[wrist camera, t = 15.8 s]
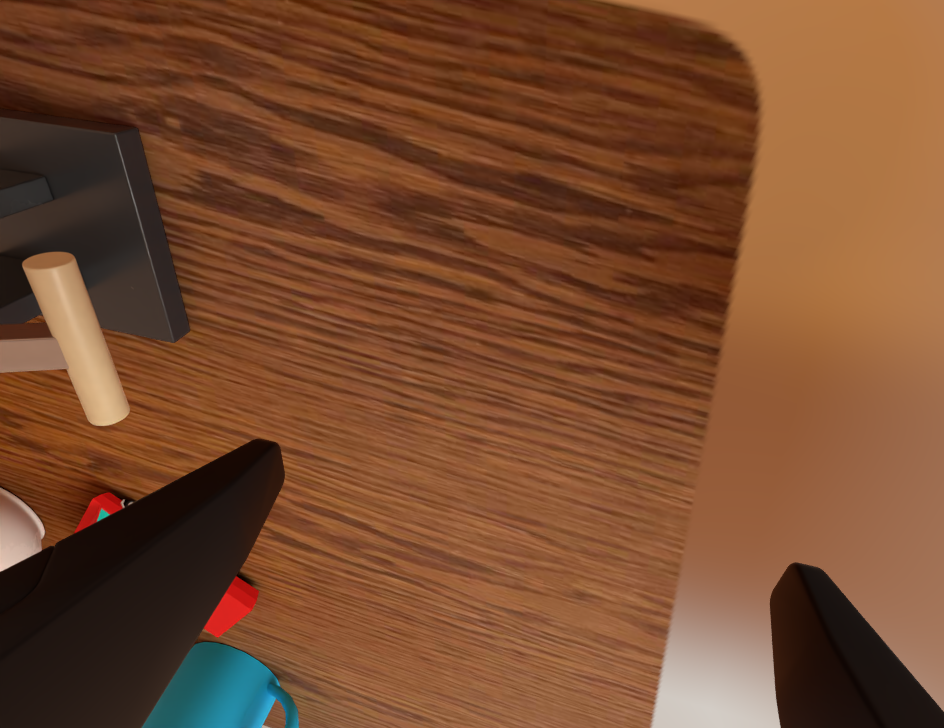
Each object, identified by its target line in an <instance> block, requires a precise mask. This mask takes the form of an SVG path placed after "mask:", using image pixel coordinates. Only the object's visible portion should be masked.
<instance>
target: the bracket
mask: <svg viewBox="0 0 944 728" xmlns="http://www.w3.org/2000/svg"><path fill="white" fill-rule="evenodd" d="M47 252H67V253H70V254H72V255H73V256H74V257H75V259H76V262H77V264H78V267H79V270H80V273H81V275H82V278H83V281H84V284H85V286H86V289H87V292H88V295H89V297H90V300H91V303H92V305H93V308H94V311H95V314H96V316H97V319H98V322H99V325H100V327H101V328H103V329H108V330H113V331H118V332H123V333H127V334H132V335H137V336H142V337H147V338H151V339H156V340H161V341H166V342H171V343H175V342H176V341H178V340H179V339H180V338H182V337H183V336H184V335H186V334H187V333H188V332H190V327H189V323H188V319H187V315H186V311H185V308H184V304H183V300H182V296H181V292H180V288H179V284H178V280H177V277H176V273H175V269H174V265H173V261H172V257H171V253H170V249H169V246H168V242H167V238H166V234H165V230H164V226H163V222H162V218H161V215H160V211H159V207H158V203H157V199H156V195H155V191H154V188H153V184H152V180H151V176H150V172H149V168H148V164H147V160H146V157H145V153H144V149H143V145H142V141H141V137H140V133H139V130H138V128H136V127H129V126H122V125H115V124H108V123H101V122H93V121H86V120H79V119H72V118H65V117H58V116H50V115H43V114H36V113H29V112H22V111H15V110H7V109H0V325H2V324H23V323H25V322H27V321H29V320H31V319H33V318H35V317H37V316H38V315H41V316H43V314H42V311H41V309H40V307H39V304H38V302H37V299H36V297H35V295H34V292H33V290H32V288H31V285H30V283H29V281H28V278H27V276H26V274H25V271H24V269H23V267H22V263H23V261H24V260H26V259H27V258H29V257H32V256H34V255H38V254H42V253H47Z"/></svg>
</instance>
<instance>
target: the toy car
mask: <svg viewBox="0 0 944 728" xmlns="http://www.w3.org/2000/svg"><path fill="white" fill-rule="evenodd" d="M124 501H125V500H124V499H123V500H120V499H119V498H117V497H116V496H114V495H113V494H111V493H110V492H108V493H104V494H101V495H99V496H97V497H95V498H93V499H92V501H91V503H90V505H89V507H88V508H87V510H86V512H85V514H84V516H83V518H82V519H81V521H80V523H79V525H78V527H77V529H76V530H75V532H74V534H75V533H76V532H78V531H80V530H82V529H84V528H86V527H88V526H90V525H92V524H94V523H96V522H97V521H99V520H101V519H103V518H105V517H107V516H109V515H111V514H113V513H115V512H117V511H118V510H120V509H122V508H124V507H126V506H128V505H130V504H132V503H134V502H135V501H132V500H131V501H128V502H127V503H126V504H125V506H124V504H123V503H124ZM258 593H259V591H258V590H256V589H255V588H253V587H252V586H250V585H249V584H247V583H246V582H244V581H243V580H241V579H240V578H238V577H237V576H236V577H235V579H234V580H233V582H232V583H231V585H230V587H229V588H228V590H227V591H226V593H225V595H224V596H223V598H222V599H221V601H220V603H219V604H218V606H217V608H216V609H215V611H214V612H213V614H212V616H211V617H210V619H209V620H208V622H207V624H206V625H205V627H204V629H206V630H207V631H209V632H210V633H212V634H213V635H215V636H216V637H217V638H218V637H219V636H220V635H221V634H223V633H224V632H225V631H227V630H228V629H229V628H230V627H232V626H233V625H234V624H235V623H237V622H238V621H239V620H240V619H242V618H243V617H244V616H245V615H247V614H248V613H249V612H250V611H252V609H253V607H254V605H255V603H256V601H257V597H258Z"/></svg>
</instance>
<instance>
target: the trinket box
mask: <svg viewBox="0 0 944 728" xmlns="http://www.w3.org/2000/svg"><path fill="white" fill-rule="evenodd" d="M44 535H45V530H44V526H43V524H42V522H41V520H40V519H39V518H38V516H37V515H36V514H35V513H34V512H33V510H32V509H31V508H29V507H28V506H27V505H26V504H25V503H24V502H23V501H21V500H20V499H19V498H17V497H16V496H14V495H13V494H11V493H10V492H8V491H6V490H4V489H2V488H0V572H1V571H3V570H5V569H7V568H9V567H11V566H13V565H15V564H17V563H19V562H21V561H22V560H24V559H26V558H28V557H30V556H32V555H34V554H36V553H38V552H40V551H42V546H41V539H42V538H43V537H44Z"/></svg>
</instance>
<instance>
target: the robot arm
mask: <svg viewBox="0 0 944 728" xmlns="http://www.w3.org/2000/svg"><path fill="white" fill-rule="evenodd" d="M284 478H285V471H284V466H283V460H282V454H281V449H280V446H279V445H278V443H276V442H273V441H269V440H264V439H255V440H252V441H250V442H248V443H246V444H245V445H243V446H241V447H239V448H237V449H235V450H233V451H231V452H229V453H227V454H225V455H224V456H222V457H220V458H218V459H216V460H214V461H212V462H210V463H208V464H206V465H204V466H203V467H201V468H199V469H197V470H195V471H193V472H191V473H189V474H187V475H185V476H183V477H181V478H180V479H178V480H176V481H174V482H172V483H170V484H168V485H166V486H164V487H162V488H160V489H159V490H157V491H155V492H153V493H151V494H149V495H147V496H145V497H143V498H141V499H139V500H138V501H136V502H134V503H132V504H130V505H128V506H126V507H124V508H122V509H120V510H118V511H117V512H115V513H113V514H111V515H109V516H107V517H105V518H103V519H101V520H99V521H97V522H96V523H94V524H92V525H90V526H88V527H86V528H84V529H82V530H80V531H78V532H76V533H75V534H73V535H71V536H69V537H67V538H65V539H63V540H61V541H59V542H57V543H56V545H55V547H54V546H49V547H47V548H46V549H44V550H42V551H40V552H38V553H36V554H34V555H32V556H30V557H28V558H26V559H24V560H22V561H21V562H19V563H17V564H15V565H13V566H11V567H9V568H7V569H5V570H3V571H1V572H0V728H142V726H143V725H144V723H145V721H146V720H147V718H148V717H149V715H150V713H151V712H152V710H153V709H154V707H155V705H156V704H157V702H158V701H159V699H160V697H161V696H162V694H163V693H164V691H165V689H166V688H167V686H168V685H169V683H170V681H171V680H172V678H173V677H174V675H175V673H176V672H177V670H178V669H179V667H180V665H181V664H182V662H183V660H184V659H185V657H186V656H187V654H188V652H189V651H190V649H191V648H192V646H193V644H194V643H195V641H196V640H197V638H198V636H199V635H200V633H201V632H202V630H203V628H204V627H205V625H206V624H207V622H208V620H209V619H210V617H211V616H212V614H213V612H214V611H215V609H216V608H217V606H218V604H219V603H220V601H221V599H222V598H223V596H224V595H225V593H226V591H227V590H228V588H229V587H230V585H231V583H232V582H233V580H234V579H235V577H236V575H237V574H238V572H239V571H240V569H241V567H242V566H243V564H244V562H245V560H246V559H247V557H248V555H249V553H250V551H251V549H252V547H253V545H254V543H255V541H256V539H257V537H258V535H259V533H260V531H261V529H262V527H263V525H264V523H265V521H266V519H267V517H268V515H269V512H270V510H271V508H272V506H273V504H274V502H275V500H276V498H277V496H278V494H279V492H280V490H281V488H282V485H283V483H284ZM770 614H771V629H772V645H773V659H774V660H773V661H774V675H775V690H776V699H777V706H778V714H779V719H780V725H781V728H944V712H943V710H941V708H940V707H939V706H938V705H937V703H936V702H935V701H934V700H933V699H932V698H931V696H930V695H929V694H928V693H927V692H926V690H925V689H924V688H923V687H922V686H921V685H920V683H919V682H918V681H917V680H916V679H915V678H914V676H913V675H912V674H911V673H910V672H909V670H908V669H907V668H906V667H905V666H904V665H903V663H902V662H901V661H900V660H899V659H898V657H897V656H896V655H895V654H894V653H893V652H892V651H891V650H890V648H889V647H888V646H887V645H886V643H885V642H884V641H883V640H882V639H881V637H880V636H879V635H878V634H877V633H876V632H875V630H874V629H873V628H872V627H871V626H870V625H869V623H868V622H867V621H866V620H865V619H864V618H863V616H862V615H861V614H860V613H859V612H858V610H857V609H856V608H855V607H854V606H853V605H852V603H851V602H850V601H849V600H848V599H847V598H846V596H845V595H844V594H843V593H842V592H841V590H840V589H839V588H838V587H837V586H836V585H835V583H834V582H833V581H832V580H831V579H830V578H829V576H828V575H827V574H826V573H825V572H824V571H823V570H822V569H820V568H818V567H814V566H809V565H806V564H801V563H792V564H790V565H789V566H788V568H787V569H786V571H785V572H784V574H783V576H782V577H781V578H780V580H779V582H778V583H777V585H776V586H775V588H774V589H773V591H772V594H771V598H770Z"/></svg>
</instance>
